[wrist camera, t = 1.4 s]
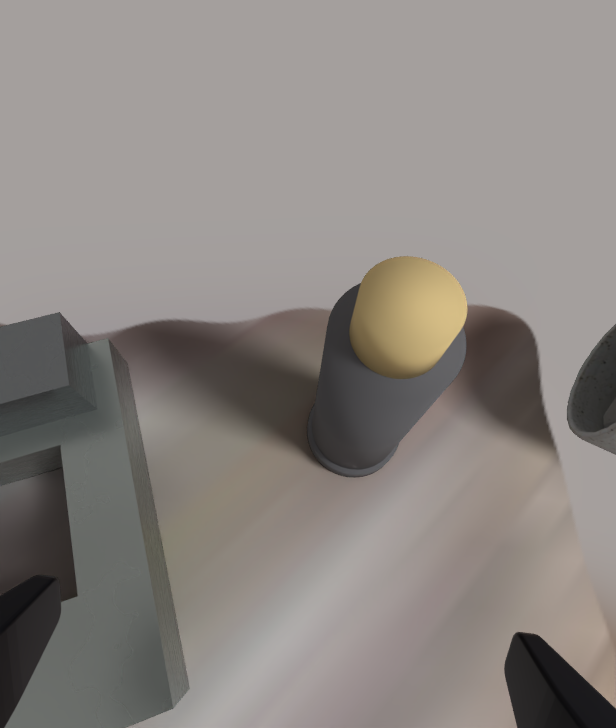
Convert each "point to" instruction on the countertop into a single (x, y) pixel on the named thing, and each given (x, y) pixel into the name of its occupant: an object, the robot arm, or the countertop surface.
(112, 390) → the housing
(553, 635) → the countertop surface
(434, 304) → the plug
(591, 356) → the ceramic mug
